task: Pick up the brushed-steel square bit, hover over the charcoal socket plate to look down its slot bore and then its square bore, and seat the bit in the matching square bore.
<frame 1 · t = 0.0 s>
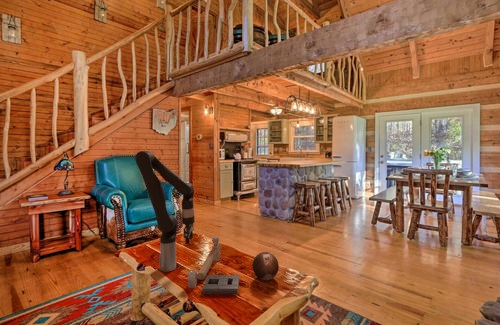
hand: (189, 241, 156), 17 cm above the table, tool pointing down, fingers open, 8 cm apart
wooden sphere: (265, 279, 144), on the table
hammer: (209, 269, 157), on the table
socket plate: (221, 286, 136), on the table
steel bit: (192, 285, 137), on the table
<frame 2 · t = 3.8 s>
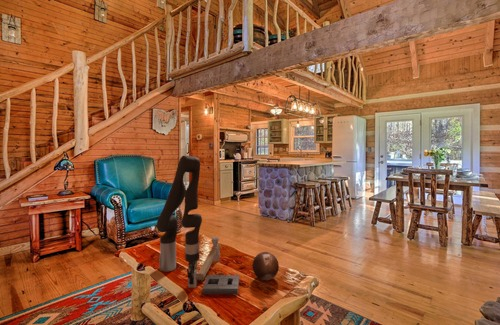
hand: (192, 281, 137), 2 cm above the table, tool pointing down, fingers closed on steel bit, 4 cm apart
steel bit: (192, 285, 137), on the table, touching gripper
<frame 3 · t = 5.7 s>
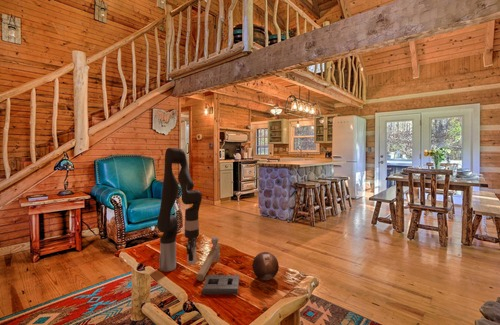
hand: (191, 258, 136), 15 cm above the table, tool pointing down, fingers closed on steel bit, 4 cm apart
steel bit: (191, 262, 136), point 13 cm above the table, touching gripper
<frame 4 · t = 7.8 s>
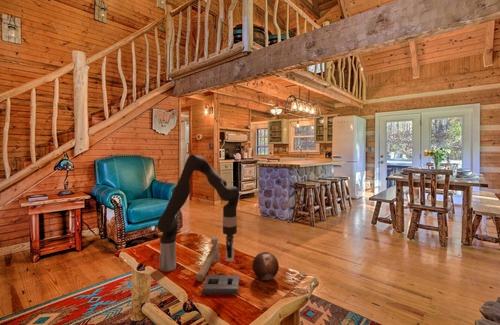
hand: (229, 255, 135), 17 cm above the table, tool pointing down, fingers closed on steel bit, 4 cm apart
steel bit: (230, 259, 135), point 15 cm above the table, touching gripper
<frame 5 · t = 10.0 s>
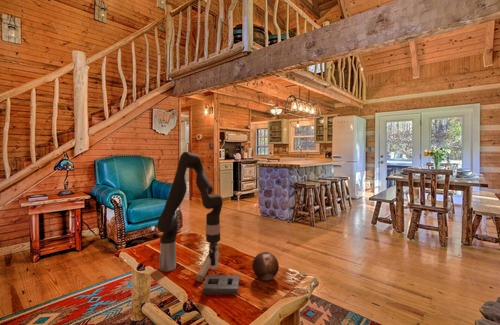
hand: (213, 263, 135), 13 cm above the table, tool pointing down, fingers closed on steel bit, 4 cm apart
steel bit: (213, 267, 135), point 11 cm above the table, touching gripper
when the fingers open (4 cm above the table, at t = 11.9 s): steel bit drops 2 cm, resting in socket plate.
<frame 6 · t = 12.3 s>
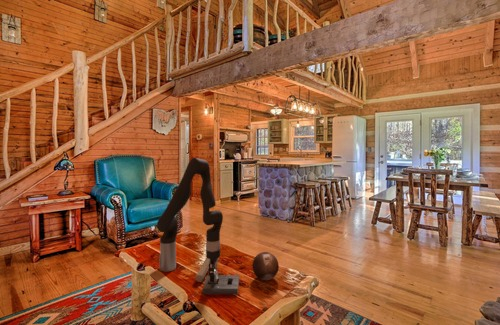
hand: (213, 277, 135), 5 cm above the table, tool pointing down, fingers open, 8 cm apart
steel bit: (213, 286, 136), resting in socket plate
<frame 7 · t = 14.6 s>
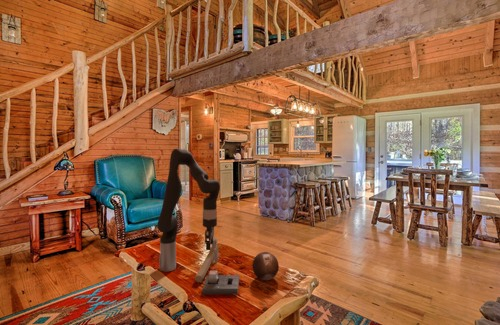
hand: (209, 246, 135), 22 cm above the table, tool pointing down, fingers open, 8 cm apart
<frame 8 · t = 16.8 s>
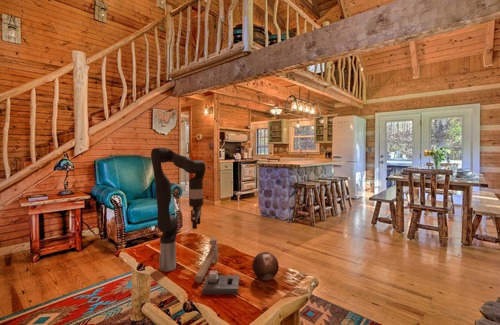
hand: (196, 226, 137), 32 cm above the table, tool pointing down, fingers open, 8 cm apart
at the end: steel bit 0.1 cm from the target spot on the socket plate, point 0.0 cm above the socket plate's base; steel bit tilted 0°; the gripper is holding nothing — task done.
